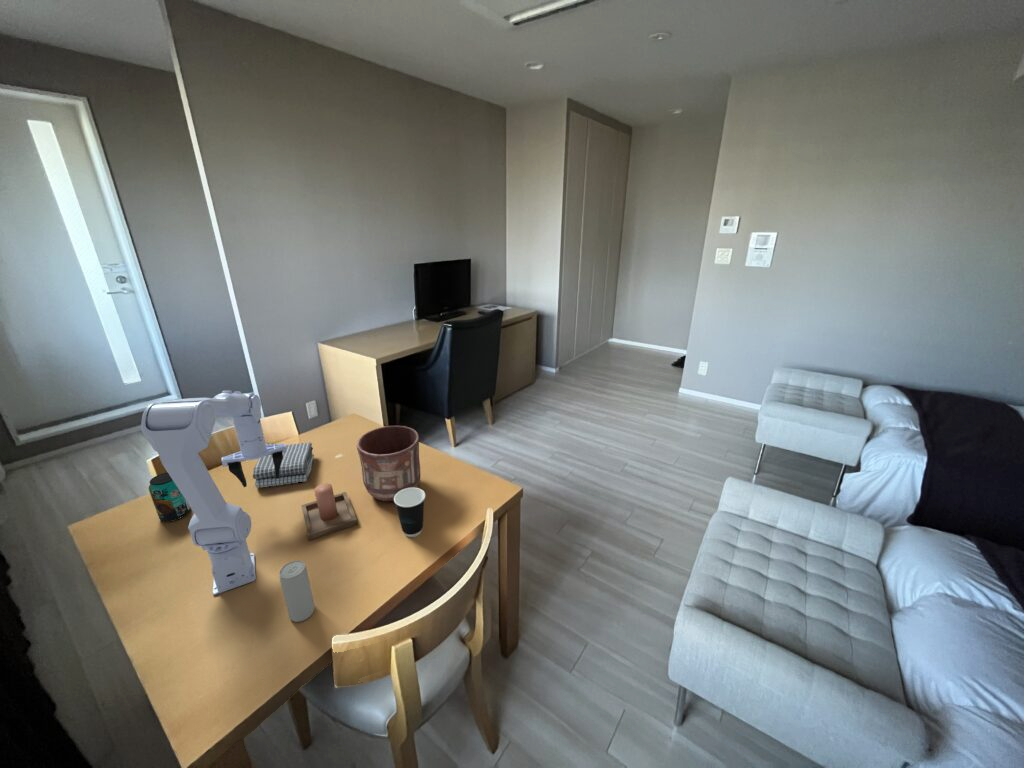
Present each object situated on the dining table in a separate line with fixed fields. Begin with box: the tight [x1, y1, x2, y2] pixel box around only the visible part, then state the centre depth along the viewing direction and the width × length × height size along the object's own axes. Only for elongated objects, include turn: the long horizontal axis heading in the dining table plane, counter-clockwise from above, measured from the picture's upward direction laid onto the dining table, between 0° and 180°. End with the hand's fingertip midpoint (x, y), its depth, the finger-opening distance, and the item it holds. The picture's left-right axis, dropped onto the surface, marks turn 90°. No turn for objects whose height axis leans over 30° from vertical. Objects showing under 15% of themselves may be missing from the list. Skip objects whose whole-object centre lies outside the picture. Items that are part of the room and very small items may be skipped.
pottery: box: [356, 425, 421, 503], centre depth 121 cm, size 18×18×18 cm
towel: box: [252, 442, 314, 489], centre depth 132 cm, size 15×18×8 cm
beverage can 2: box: [278, 560, 316, 623], centre depth 83 cm, size 5×5×12 cm
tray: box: [300, 491, 358, 542], centre depth 112 cm, size 14×12×2 cm
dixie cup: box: [393, 487, 426, 538], centre depth 106 cm, size 8×8×11 cm
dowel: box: [314, 482, 338, 521], centre depth 111 cm, size 4×4×9 cm
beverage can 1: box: [148, 471, 192, 522], centre depth 111 cm, size 7×7×12 cm
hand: (261, 480), depth 111 cm, fingers open, 7 cm apart
